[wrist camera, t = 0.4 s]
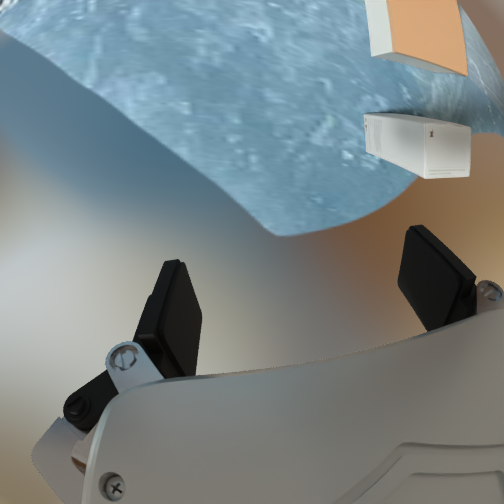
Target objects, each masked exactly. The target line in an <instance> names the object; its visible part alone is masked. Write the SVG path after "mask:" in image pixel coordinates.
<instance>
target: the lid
mask: <svg viewBox="0 0 504 504" xmlns="http://www.w3.org/2000/svg"><path fill="white" fill-rule="evenodd" d="M386 4H387V10H388V16H389V23H390V31H391V40H392V51H393V53H396V54H400V55H403V56H407V57H411V58H414V59H418V60H421V61H424V62H427V63H430V64H433V65H436V66H439V67H442V68H445V69H447V70H450V71H453V72H455V73H458V74H460V75H463V76H468V74H467V60H466V51H465V43H464V36H463V30H462V24H461V19H460V14H459V9H458V5H457V1H456V0H386Z"/></svg>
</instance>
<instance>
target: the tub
mask: <svg viewBox="0 0 504 504" xmlns="http://www.w3.org/2000/svg"><path fill="white" fill-rule="evenodd" d="M365 5H366V12H367V19H368V27H369V36H370V46H371V57H375V58H380V59H385V60H390V61H394V62H398V63H402V64H406V65H410V66H414V67H417V68H421V69H424V70H428V71H431V72H434V73H455V72H453V71H450V70H447V69H445V68H442V67H439V66H436V65H433V64H430V63H427V62H424V61H421V60H418V59H414V58H411V57H407V56H403V55H400V54H396V53H393V51H392V40H391V31H390V23H389V16H388V10H387V4H386V0H365Z"/></svg>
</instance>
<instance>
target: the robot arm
mask: <svg viewBox="0 0 504 504" xmlns="http://www.w3.org/2000/svg"><path fill="white" fill-rule="evenodd" d="M475 280H476V276H475V275H474V274H473V272H472V271H471V270H470V269H469V268H468V267H467V266H466V265H465V264H464V263H463V262H462V261H461V260H460V259H459V258H458V257H457V256H456V255H455V254H454V253H453V252H452V251H451V250H449V248H448V247H446V246H445V245H444V244H443V243H442V242H441V241H440V240H439V239H438V238H437V237H436V236H434V235H433V234H432V233H431V232H430V231H429V230H428V229H427V228H426V227H424V226H423V225H415V226H410V227H409V230H407V231H406V235H405V242H404V249H403V254H402V260H401V266H400V271H399V276H398V286H399V288H400V290H401V291H402V293H403V294H404V296H405V297H406V299H407V300H408V302H409V303H410V305H411V306H412V308H413V309H414V311H415V313H416V314H417V316H418V317H419V319H420V320H421V322H422V324H423V325H424V327H425V329H426V330H427V332H426V333H423V334H420V335H417V336H413V337H410V338H407V339H404V340H400V341H397V342H393V343H390V344H386V345H382V346H378V347H375V348H371V349H367V350H363V351H358V352H354V353H350V354H346V355H341V356H336V357H331V358H326V359H321V360H316V361H311V362H306V363H299V364H293V365H287V366H280V367H273V368H266V369H258V370H249V371H240V372H231V373H221V374H209V375H198V376H195V375H196V366H197V357H198V349H199V340H200V333H201V324H202V312H201V309H200V306H199V303H198V301H197V298H196V295H195V292H194V289H193V286H192V283H191V280H190V277H189V274H188V271H187V268H186V265H185V263H184V262H180V260H179V259H176V260H170V261H165V262H164V264H163V266H162V269H161V271H160V274H159V277H158V279H157V282H156V284H155V287H154V290H153V292H152V295H150V296H149V297H148V299H147V302H146V304H145V307H144V310H143V313H142V315H141V318H140V321H139V324H138V327H137V329H136V332H135V335H134V338H133V341H132V342H131V341H127V342H122V343H120V344H118V345H116V346H115V347H113V348H112V349H111V350H110V352H109V353H108V355H107V357H106V361H105V365H106V368H107V370H105V371H104V372H103V373H101V374H100V375H98V376H97V377H95V378H94V379H93V380H91V381H90V382H88V383H87V384H85V385H84V386H83V387H81V388H80V389H78V390H77V391H76V392H74V393H72V394H71V395H70V396H69V397H68V398H67V400H66V402H65V404H64V407H63V413H64V417H63V418H62V419H61V418H60V417H58V418H57V419H56V420H55V422H54V423H53V424H52V425H51V427H50V428H49V429H48V430H47V431H46V432H45V434H44V435H43V436H42V438H41V439H40V440H39V441H38V442H37V443H36V445H35V446H34V448H33V450H32V455H31V456H32V461H33V464H34V466H35V467H36V468H37V470H38V471H39V473H40V474H41V475H42V477H43V478H44V479H45V480H46V482H47V483H48V485H49V486H50V487H51V488H52V490H53V491H54V492H55V493H56V495H57V496H58V497H59V498H60V499H61V500H62V502H63V503H64V504H504V291H503V290H502V288H501V287H500V286H499V285H497V284H496V283H494V282H492V281H488V280H483V281H480V282H479V283H478V284H477V286H476V285H475V284H474V283H475Z"/></svg>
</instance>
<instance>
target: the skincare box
mask: <svg viewBox="0 0 504 504" xmlns="http://www.w3.org/2000/svg"><path fill="white" fill-rule="evenodd" d="M364 128H365V142H366V152H367V153H370V154H372V155H375V156H377V157H380V158H382V159H384V160H387V161H389V162H391V163H394V164H396V165H398V166H400V167H402V168H404V169H407V170H409V171H411V172H413V173H415V174H417V175H419V176H421V177H423V178H425V179H430V178H447V177H467V176H469V172H470V153H471V127H468V126H465V125H461V124H457V123H452V122H448V121H443V120H437V119H432V118H426V117H420V116H413V115H405V114H394V113H367V114H364Z"/></svg>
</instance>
